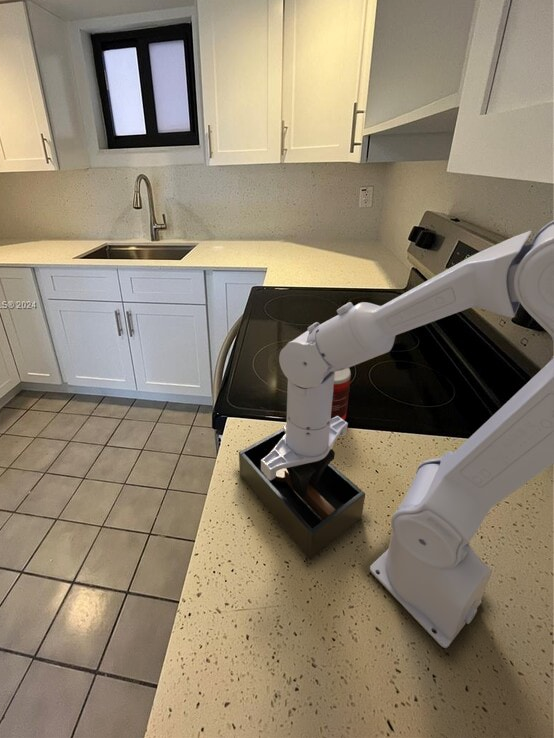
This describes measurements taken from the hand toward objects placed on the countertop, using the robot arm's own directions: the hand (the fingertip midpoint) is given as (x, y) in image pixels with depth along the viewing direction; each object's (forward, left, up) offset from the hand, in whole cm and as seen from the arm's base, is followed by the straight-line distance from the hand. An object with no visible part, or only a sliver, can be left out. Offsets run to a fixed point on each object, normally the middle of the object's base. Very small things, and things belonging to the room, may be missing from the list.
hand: (303, 487), depth 52 cm
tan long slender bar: (+1, 0, -1) cm, 2 cm away
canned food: (+11, -17, -3) cm, 21 cm away
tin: (+1, 0, -3) cm, 3 cm away
